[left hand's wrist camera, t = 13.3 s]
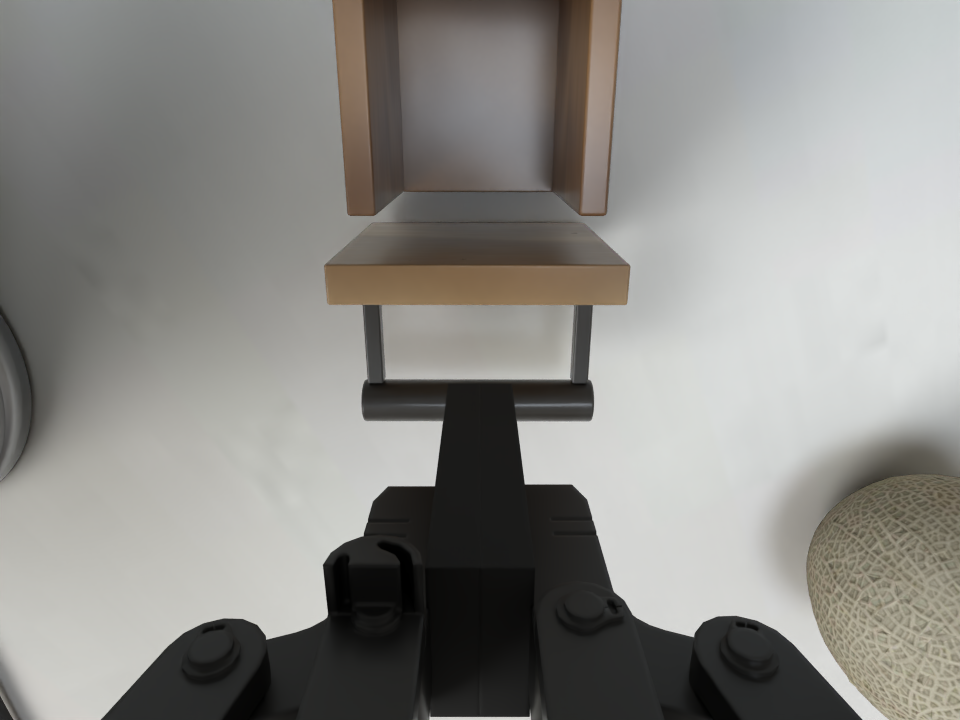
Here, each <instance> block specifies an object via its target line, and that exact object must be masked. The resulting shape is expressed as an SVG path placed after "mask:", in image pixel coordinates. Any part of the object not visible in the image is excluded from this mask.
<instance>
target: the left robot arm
mask: <svg viewBox="0 0 960 720" xmlns="http://www.w3.org/2000/svg"><path fill="white" fill-rule="evenodd" d="M31 408H32V401H31V389H30V384H29V379H28V374H27V370H26V367H25V363H24V360H23V357H22V355H21V352H20V350H19V347H18V345H17V342H16V341H15V339H14V337H13V335H12V333H11V331H10V329H9V327H8V325H7V324H6V322H5V320H4V319H3V317H2V316H1V314H0V481H1V480H2V479H3V478H4V477H5V476H6V475H7V474H8V473H9V472H10V470H11V469H12V468H13V467H14V465H15V464H16V462H17V460H18V458H19V457H20V455H21V453H22V451H23V448H24V446H25V444H26V440H27V437H28V433H29V429H30V422H31ZM323 569H324V579H325V588H326V598H327V607H328V617H327V618H326V619H325V620H324V621H322V622H320V623H318V624H316V625H314V626H312V627H311V628H308V629H305V630H302V631H299V632H296V633H292V634H288V635H284V636H280V637H276V638H272V639H268V640H266V636H265V634H264V633H263V632H262V631H261V629H260V628H259V627H258V626H257V625H256V624H253V623H251V622H249V621H246V620H244V619H220V620H216V621H212V622H207V623H203V624H201V625H199V626H197V627H195V628H193V629H191V630H189V631H187V632H185V633H184V634H182V635H181V636H180V637H179V638H178V639H176V640H175V641H174V642H173V643H172V644H170V645H169V646H168V647H167V648H166V649H165V650H164V651H163V652H162V654H161V655H160V656H159V657H158V658H157V659H156V660H155V661H154V662H153V663H152V665H151V666H150V667H149V668H148V669H147V670H146V671H145V672H144V673H143V674H142V675H141V677H140V678H139V679H138V680H137V681H136V682H135V683H134V684H133V685H132V686H131V688H130V689H129V690H128V691H127V692H126V693H125V694H124V695H123V696H122V697H121V698H120V700H119V701H118V702H117V703H116V704H115V705H114V706H113V707H112V708H111V709H110V710H109V712H108V713H107V714H106V715H105V716H104V717H103V718H102V719H101V720H429V716H430V717H530V713H531V720H862V719H861V718H860V717H859V716H858V714H857V713H856V712H855V711H854V710H853V709H852V708H851V707H850V706H849V705H848V704H847V702H846V701H845V700H844V699H843V698H842V697H841V696H840V695H839V694H838V693H837V692H836V690H835V689H834V688H833V687H832V686H831V685H830V684H829V683H828V682H827V681H826V680H825V679H824V677H823V676H822V675H821V674H820V673H819V672H818V671H817V670H816V669H815V668H814V667H813V665H812V664H811V663H810V662H809V661H808V660H807V659H806V658H805V657H804V656H803V655H802V653H801V652H800V651H799V650H798V649H797V648H796V647H795V646H794V645H793V644H792V643H791V642H790V641H789V640H787V639H786V638H785V637H784V636H782V635H781V634H780V633H779V632H778V631H776V630H774V629H772V628H770V627H768V626H766V625H764V624H762V623H760V622H758V621H755V620H751V619H747V618H743V617H739V616H719V617H715V618H713V619H711V620H708V621H706V622H703V623H702V625H701V626H700V627H699V629H698V630H697V631H696V632H695V636H694V637H690V636H686V635H682V634H678V633H674V632H670V631H666V630H663V629H660V628H657V627H654V626H651V625H648V624H647V623H645V622H643V621H641V620H639V619H637V618H636V617H634V616H633V615H632V613H631V611H630V610H629V608H628V606H627V604H626V603H625V601H624V600H623V599H622V598H620V597H619V596H618V595H617V594H615V593H614V591H613V588H612V585H611V581H610V578H609V574H608V571H607V567H606V564H605V560H604V557H603V553H602V550H601V546H600V543H599V540H598V536H597V535H596V529H595V526H594V522H593V521H592V515H591V512H590V508H589V505H588V501H587V499H586V498H585V497H584V496H583V495H582V494H581V493H580V492H579V491H578V490H577V489H576V488H575V487H574V486H573V485H525V483H524V475H523V468H522V460H521V452H520V444H519V436H518V428H517V420H516V412H515V404H514V396H513V388H512V383H448V388H447V396H446V404H445V412H444V420H443V428H442V436H441V444H440V452H439V460H438V467H437V475H436V483H435V486H388V487H387V488H386V489H385V490H384V491H383V492H382V493H381V494H380V495H379V496H378V497H377V498H376V499H375V500H374V501H373V504H372V507H371V511H370V514H369V518H368V523H367V525H366V528H365V532H364V536H363V537H360V538H357V539H354V540H351V541H349V542H346V543H344V544H343V545H341V546H340V547H338V548H337V549H336V550H334V551H333V552H331V554H330V555H329V557H328V558H327V560H326V561H325V563H324V564H323ZM0 720H13V719H12V717H11V715H10V713H9V712H8V710H7V708H6V706H5V704H4V702H3V700H2V699H1V697H0Z"/></svg>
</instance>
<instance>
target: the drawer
mask: <svg viewBox="0 0 960 720" xmlns="http://www.w3.org/2000/svg"><path fill="white" fill-rule="evenodd" d="M332 4H333V18H334V32H335V46H336V60H337V73H338V87H339V101H340V115H341V129H342V143H343V157H344V171H345V185H346V199H347V213H348V215H350V216H374V215H376V214H377V213H378V212H379V211H381V210H382V209H383V208H384V207H385V206H387V205H388V204H389V203H390V202H391V201H393V200H394V199H395V198H396V197H397V196H399V195H400V194H401V193H402V192H554V193H555V194H556V195H557V196H559V197H560V198H561V199H562V200H563V201H564V202H565V203H567V204H568V205H569V206H570V207H571V208H572V209H573V210H574V211H576V212H577V213H578V214H579V215H581V216H604V215H606V214H607V206H608V192H609V178H610V163H611V149H612V135H613V121H614V107H615V93H616V79H617V64H618V50H619V36H620V22H621V8H622V0H332ZM324 270H325V281H326V293H327V303H328V304H329V305H363V315H364V330H365V345H366V360H367V375H368V379H367V380H365V382H364V384H363V389H362V414H363V418H364V420H365V421H443V420H444V412H445V404H446V396H447V388H448V383H512V388H513V396H514V404H515V412H516V420H517V421H591V419H592V417H593V411H594V391H593V385H592V382H591V381H590V380H588V371H589V356H590V341H591V326H592V310H593V305H626V304H627V300H628V289H629V277H630V265H629V264H628V263H627V262H626V261H625V260H624V259H623V258H622V257H620V256H619V255H618V254H617V253H616V252H615V251H614V250H613V249H612V248H611V247H610V246H608V245H607V244H606V243H605V242H604V241H603V240H602V239H601V238H600V237H599V236H598V235H596V234H595V233H594V232H593V231H592V230H591V229H590V228H589V227H588V226H587V225H586V224H584V223H372V224H370V225H369V226H368V227H367V228H366V229H365V230H364V231H363V232H361V233H360V234H359V235H358V236H357V237H356V238H355V239H353V240H352V241H351V242H350V243H349V244H348V245H347V246H346V247H344V248H343V249H342V250H341V251H340V252H339V253H338V254H336V255H335V256H334V257H333V258H332V259H331V260H330V261H329V262H327V263H326V264H325V266H324ZM382 305H574V319H573V337H572V355H571V373H570V378H571V380H397V379H385V359H384V341H383V323H382Z"/></svg>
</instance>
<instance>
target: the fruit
mask: <svg viewBox="0 0 960 720" xmlns="http://www.w3.org/2000/svg"><path fill="white" fill-rule="evenodd" d="M807 582H808V590H809V596H810V600H811V604H812V609H813V613H814V616H815V619H816V622H817V625H818V628H819V630H820V633H821V635H822V637H823V640H824V642H825V644H826V646H827V647H828V649H829V651H830V652H831V654H832V655H833V657H834V659H835V660H836V662H837V663H838V665H839V666H840V667H841V669H842V670H843V671H844V673H845V674H846V675H847V677H848V679H849V681H850V682H851V683H852V684H853V685H854V686H855V687H856V688H857V689H858V691H859V692H860V693H861V694H862V695H863V696H864V697H865V698H866V699H867V700H868V701H869V702H870V703H871V704H872V705H873V706H874V707H875V708H877V709H878V710H879V711H880V712H881V713H882V714H883V715H884V716H885V717H887V718H888V719H889V720H960V478H959V477H951V476H945V475H937V474H914V475H904V476H895V477H889V478H887V479H884V480H881V481H878V482H875V483H872V484H870V485H868V486H866V487H864V488H862V489H860V490H858V491H856V492H854V493H853V494H851V495H849V496H848V497H846V498H845V499H843V500H842V501H841V502H840V503H838V504H837V505H836V506H835V507H834V508H833V509H832V510H831V511H830V512H829V513H828V514H827V515H826V516H825V518H824V519H823V521H822V522H821V523H820V525H819V526H818V528H817V529H816V531H815V533H814V536H813V539H812V541H811V544H810V548H809V552H808V557H807Z"/></svg>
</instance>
